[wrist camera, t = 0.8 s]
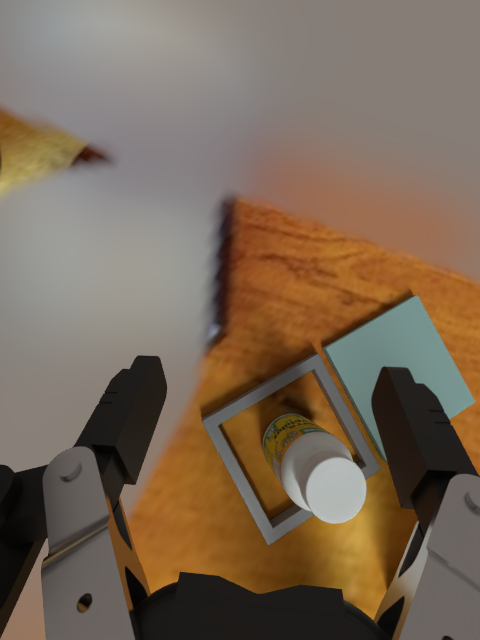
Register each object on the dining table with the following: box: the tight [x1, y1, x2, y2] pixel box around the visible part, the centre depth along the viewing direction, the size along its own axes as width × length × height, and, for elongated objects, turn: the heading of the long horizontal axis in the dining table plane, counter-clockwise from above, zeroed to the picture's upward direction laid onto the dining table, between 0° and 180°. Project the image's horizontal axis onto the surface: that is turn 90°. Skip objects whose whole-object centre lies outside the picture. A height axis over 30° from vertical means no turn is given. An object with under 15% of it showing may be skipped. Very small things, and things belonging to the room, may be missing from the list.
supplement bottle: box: [263, 414, 366, 524], centre depth 23 cm, size 5×5×10 cm
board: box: [322, 295, 475, 462], centre depth 30 cm, size 12×11×1 cm
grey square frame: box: [202, 353, 381, 546], centre depth 28 cm, size 12×12×1 cm
